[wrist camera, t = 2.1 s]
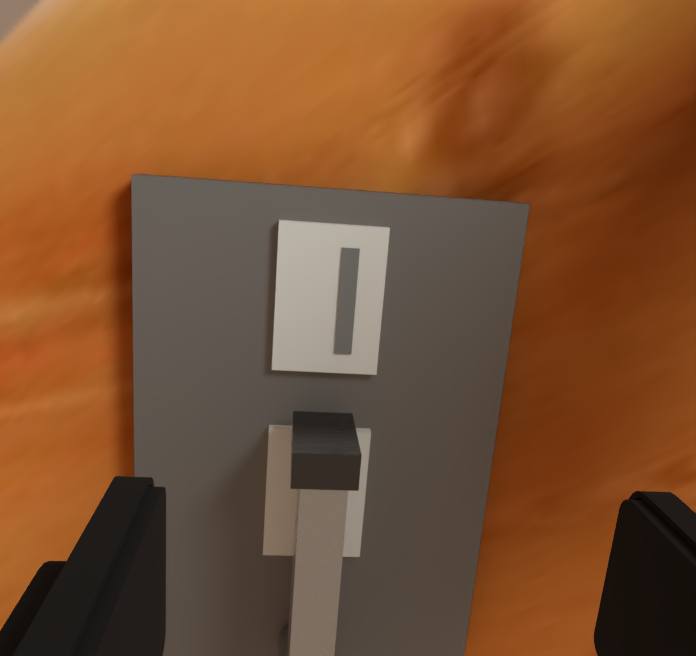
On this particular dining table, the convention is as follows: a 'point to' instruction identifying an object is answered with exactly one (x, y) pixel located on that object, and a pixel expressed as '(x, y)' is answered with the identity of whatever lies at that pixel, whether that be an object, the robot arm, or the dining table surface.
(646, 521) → the robot arm
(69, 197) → the dining table surface
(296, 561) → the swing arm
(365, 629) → the label board
